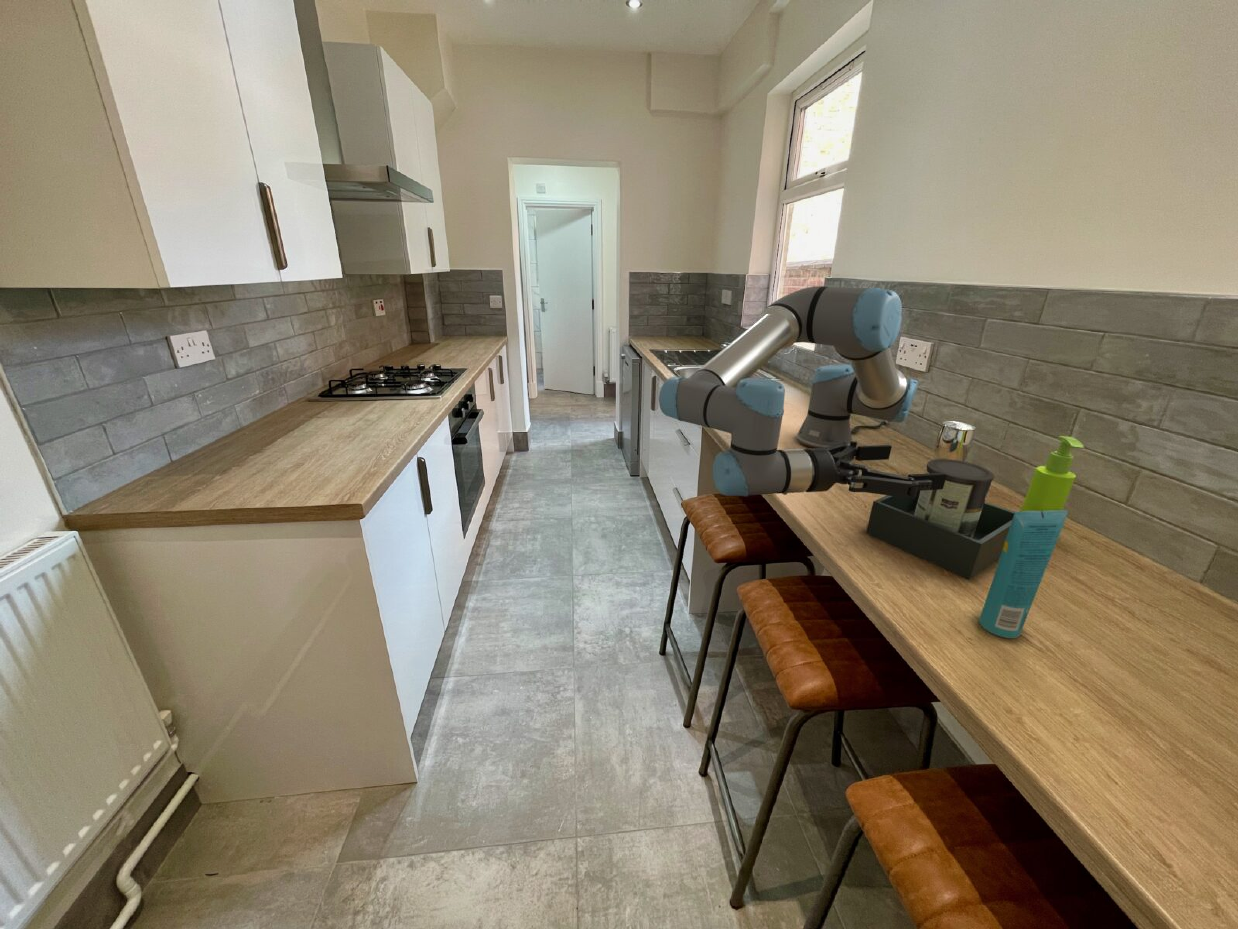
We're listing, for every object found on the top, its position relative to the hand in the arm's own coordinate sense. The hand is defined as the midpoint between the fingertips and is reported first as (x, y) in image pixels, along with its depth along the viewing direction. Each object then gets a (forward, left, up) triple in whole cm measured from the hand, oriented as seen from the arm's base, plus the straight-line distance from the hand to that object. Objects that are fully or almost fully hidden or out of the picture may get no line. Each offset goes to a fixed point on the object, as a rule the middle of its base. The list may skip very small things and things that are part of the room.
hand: (914, 465), depth 87 cm
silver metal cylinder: (-39, -9, -16) cm, 43 cm away
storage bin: (-9, +4, -16) cm, 19 cm away
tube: (+10, +21, -16) cm, 29 cm away
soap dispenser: (-29, +13, -16) cm, 35 cm away
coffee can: (-9, +4, -15) cm, 18 cm away
